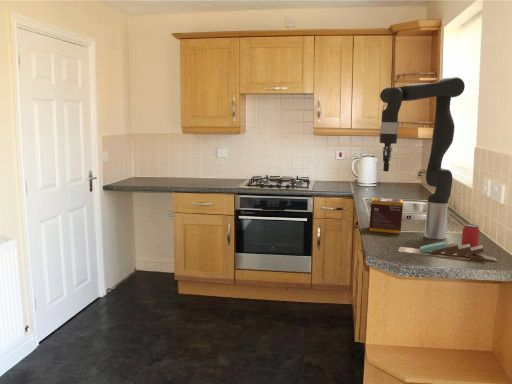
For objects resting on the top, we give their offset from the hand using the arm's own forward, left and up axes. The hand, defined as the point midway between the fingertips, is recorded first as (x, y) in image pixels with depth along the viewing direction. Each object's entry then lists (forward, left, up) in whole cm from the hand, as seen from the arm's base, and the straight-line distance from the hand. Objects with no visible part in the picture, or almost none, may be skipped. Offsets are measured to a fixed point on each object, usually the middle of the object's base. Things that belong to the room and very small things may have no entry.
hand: (386, 171), depth 224 cm
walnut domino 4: (-7, +40, -30) cm, 50 cm away
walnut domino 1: (+1, +29, -30) cm, 42 cm away
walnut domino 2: (-2, +32, -30) cm, 44 cm away
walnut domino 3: (-5, +36, -30) cm, 47 cm away
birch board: (+1, +29, -32) cm, 43 cm away
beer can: (-18, +33, -32) cm, 50 cm away
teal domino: (+4, +25, -30) cm, 39 cm away
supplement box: (-18, -14, -32) cm, 40 cm away
